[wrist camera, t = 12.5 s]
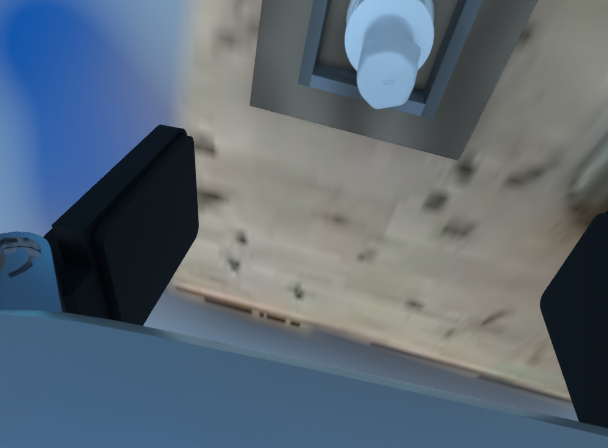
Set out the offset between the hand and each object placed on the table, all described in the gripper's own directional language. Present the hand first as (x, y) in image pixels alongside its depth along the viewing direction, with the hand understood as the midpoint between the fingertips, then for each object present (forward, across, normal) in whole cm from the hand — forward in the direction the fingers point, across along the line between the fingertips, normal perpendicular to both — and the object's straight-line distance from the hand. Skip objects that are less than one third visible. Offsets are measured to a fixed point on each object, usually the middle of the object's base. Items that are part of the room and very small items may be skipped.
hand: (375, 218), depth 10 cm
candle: (+21, 0, 0) cm, 21 cm away
